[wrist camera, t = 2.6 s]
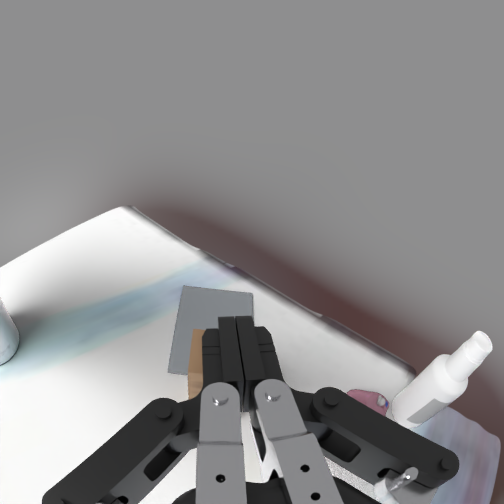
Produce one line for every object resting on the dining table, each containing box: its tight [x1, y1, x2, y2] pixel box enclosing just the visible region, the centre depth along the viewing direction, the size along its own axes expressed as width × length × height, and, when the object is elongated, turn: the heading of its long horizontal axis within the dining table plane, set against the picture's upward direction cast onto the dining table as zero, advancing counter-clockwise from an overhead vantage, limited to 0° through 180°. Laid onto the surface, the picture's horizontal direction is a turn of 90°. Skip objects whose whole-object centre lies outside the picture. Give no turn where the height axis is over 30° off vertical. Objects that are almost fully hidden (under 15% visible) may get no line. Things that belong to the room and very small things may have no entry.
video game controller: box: [347, 389, 389, 416], centre depth 32 cm, size 10×5×7 cm, turn 141°
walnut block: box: [188, 329, 205, 400], centre depth 30 cm, size 5×5×13 cm
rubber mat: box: [168, 286, 253, 375], centre depth 44 cm, size 17×12×1 cm
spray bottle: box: [392, 331, 492, 428], centre depth 30 cm, size 7×7×18 cm
